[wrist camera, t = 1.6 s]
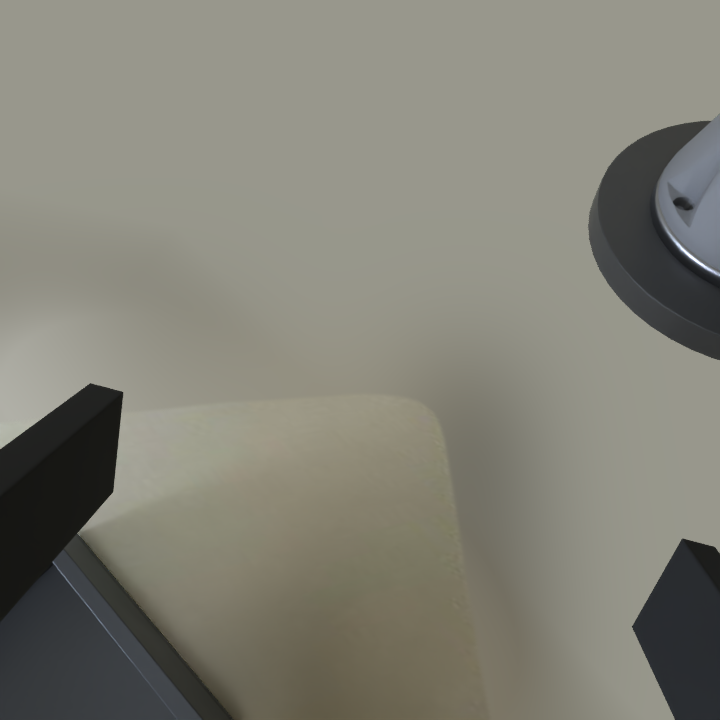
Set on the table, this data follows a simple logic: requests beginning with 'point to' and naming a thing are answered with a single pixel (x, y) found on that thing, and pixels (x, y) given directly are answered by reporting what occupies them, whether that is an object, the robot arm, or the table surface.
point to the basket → (92, 653)
